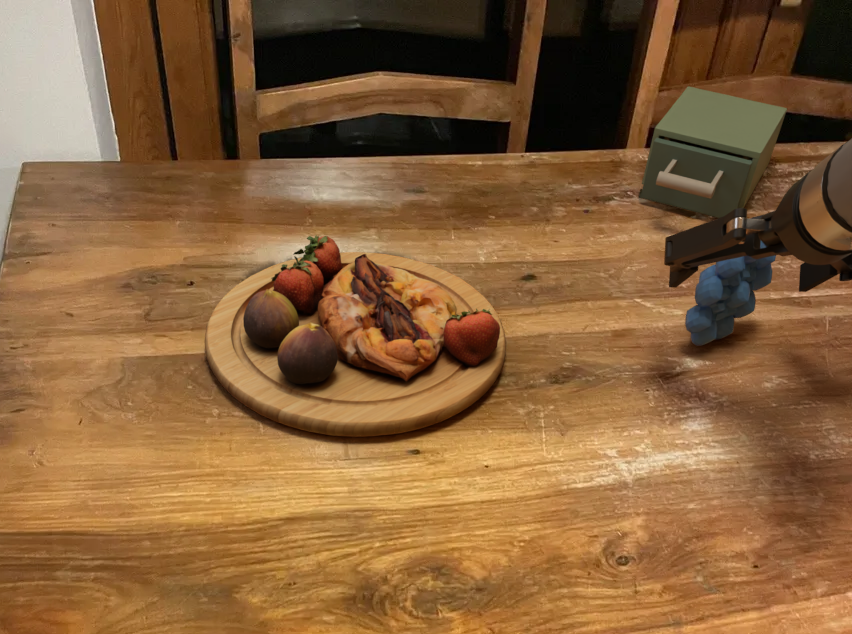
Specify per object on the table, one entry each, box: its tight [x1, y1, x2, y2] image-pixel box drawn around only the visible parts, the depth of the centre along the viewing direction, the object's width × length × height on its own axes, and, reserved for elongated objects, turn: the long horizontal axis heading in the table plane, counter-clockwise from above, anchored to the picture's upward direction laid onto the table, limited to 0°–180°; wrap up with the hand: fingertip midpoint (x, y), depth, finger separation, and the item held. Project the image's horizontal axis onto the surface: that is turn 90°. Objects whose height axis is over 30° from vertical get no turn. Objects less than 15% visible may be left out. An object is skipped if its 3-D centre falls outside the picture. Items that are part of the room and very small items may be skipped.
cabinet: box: [638, 86, 788, 219], centre depth 125 cm, size 16×14×9 cm
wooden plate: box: [204, 234, 507, 437], centre depth 98 cm, size 32×32×8 cm
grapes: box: [684, 241, 777, 347], centre depth 100 cm, size 12×7×12 cm, turn 126°
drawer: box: [641, 137, 753, 218], centre depth 122 cm, size 21×12×7 cm, turn 153°
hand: (738, 276), depth 96 cm, fingers open, 13 cm apart
